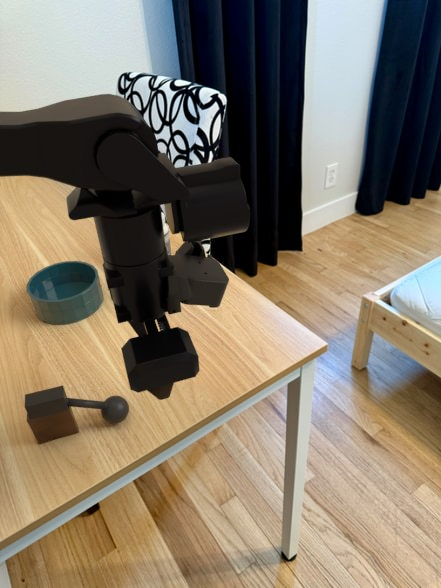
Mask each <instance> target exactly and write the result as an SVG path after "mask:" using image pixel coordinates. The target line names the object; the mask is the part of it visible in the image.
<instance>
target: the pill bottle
mask: <svg viewBox="0 0 441 588" xmlns="http://www.w3.org/2000/svg"><path fill="white" fill-rule="evenodd" d="M161 214H162V222H163V230H164V238H165V246H166V249H167V254H168V255H172V247H171V246H172V245H171V237H170V228H169V225H168V224H166V214H165V213H164V212H162V211H161Z"/></svg>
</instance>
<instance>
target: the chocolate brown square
mask: <svg viewBox="0 0 441 588" xmlns="http://www.w3.org/2000/svg"><path fill="white" fill-rule="evenodd" d="M72 408H73V407H70V406H68V411H65V412H61V413H57V414H53V415H49V416H45V417H41V418H37V419H34V420H30V418H29V416H28V414H27V413H26V422H27V424H28V426H29V428H30V430H31V432H32V434H33V436H34V438H35V440H36V442H37V444H38V445H41V444H44V443H48V442H51V441H55V440H59V439H62V438H65V437H69V436H71V435H76V434H78V433H80V432H79V431H80V430H79V424H78V421H77V419H76V417H75V414H74V411H73V409H72Z"/></svg>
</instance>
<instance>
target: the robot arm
mask: <svg viewBox="0 0 441 588" xmlns="http://www.w3.org/2000/svg"><path fill="white" fill-rule="evenodd" d="M2 177H6V178H7V177H33V178H34V177H35V178H42V179H47V180H52V181H53V182H57V183H60V184H64V185H67V186H69V187H74V188H73V190H71V192H70V193H69V194H68V195H67V196H66V198H65V199H66V207H67V215H68V218H69V220H71V221H79V220H85V219H91V218H93V222H94V226H95V230H96V234H97V239H98V243H99V248H100V252H101V256H102V260H103V263H102V268H103V273H104V277H105V281H106V286H107V290H108V291H109V295H110V299H111V301H112V302H113V307H114V311H115V316H116V321H117V324H122V323H123V324H124V323H126V322H127V323H128V324H129V326H130V327H131V328H132V330H133V331H134V333H135V334H136V335H137V336H135V337H130V338H129V339H128V340H127V341H126V342H125V343H124V344H123V345H122V347H121V348H120V349H121V354H122V358H123V363H124V366H125V371H126V376H127V380H128V385H129V389H130V391H132V392H135V393H138V394H139V393H142V392H148V393H150V394H151V395H152V396H154V397H155V398H156V399H157V400H159V401H162V400H165V399H168V398H170V397H171V394H172V390H173V387H174V384H175V383H178V382H182V381H186V380H189V379H193V378H196V377H197V375H198V374H199V372H200V361H199V360H200V358H199V355H198V352H197V350H196V347H195V345H194V343H193V342H194V341H192V338H191V336H190V333H189V331H188V330H185V329H183V328H182V327H179V326H175V327H171V325H170V323H169V319H168V316H167V314H168V315H176V314H179V313H182V305H181V304H183V305H187V306H205V307H209V308H210V309H211V308H212V309H215V308H219V307H220V306H221V304H222V300H223V298H224V295H225V293H226V290H227V287H228V285H229V282H230V278H229V276H228V274H227V273H226V271H225V270H224V267H223V266H222V265H221V263H220V262H219V261H218V260H217V259H215V258H214V257H213V255H212V254H209V253H208V254H207V255H206V251H205V247H204V245H203V244H202V242H201V241H205V240H210V239H216V238H220V237H221V238H222V237H226V236H231V235H236V234H240V233H246V231H248V229H249V226H250V222H251V207H250V205H249V204H248V198H247V193H246V188H245V186H244V183H243V180H242V178H241V165H240V164H239V163H237V162H236V160H235V159H234V158H232V157H231V156H229V157H221V158H218V159H215V160H213V161H209V162H204V163H197V164H192V165H185V166H179V167H176V166H175V165H174V164H173V162H172V161H171V159H170V157H169V156H168V155H167V153H166V152H161V150H160V149H159V146H158V140H157V138H156V135H155V134H154V132H153V130H152V128H151V127H150V125H149V123H148V122H147V121H146V119H145V118H144V117H143V115H142V114H141V113H140V111H139V110H138V109H137V108H136V107H135V106H134V105H133V103H131V102H130V101H129V100H127V98H124V97H122V96H121V95H117V94H112V93H102V94H95V95H89V96H83V97H77V98H70V99H64V100H61V101H58V102H54V103H51V104H48V105H45V106H41V107H38V108H34V109H33V108H32V109H27V110H23V111H0V178H2ZM162 205H163V206H164V212H165V213H164V214H165V219H166V221H167V226H168V228H169V232H170V233H171V234H172V235H177V234H180V236H181V239H182V242H183V243H182V244H181V245H180V246H179V247H178V249H177V250H175V251H174V254H171V255H168V254H167V249H166V246H165V238H164V230H163V222H162V214H161V212H162ZM166 313H167V314H166Z"/></svg>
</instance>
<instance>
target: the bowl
mask: <svg viewBox="0 0 441 588" xmlns="http://www.w3.org/2000/svg"><path fill="white" fill-rule="evenodd" d="M25 292H26V293H27V296H28V299H29V302H30V304H31V307H32V310H33V312H34V313H35V315H36V317H37V318H38V319H39V320H40V321H42V322H44V323H47V324H49V325H69V324H73V323H77V322H80V321H82V320H85V319H87V318H89V317H91V316H92V315H94V314H95V313H96V312H97V311H98V310H99V309H100V308H101V306H102V305H103V302H104V290H103V287H102V283H101V279H100V274H99V271H98V269H97V268H96V267H95V266H94V265H93V264H92V263H89V262H86V261H82V260H81V261H80V260H66V261H60V262H56V263H53V264H50V265H47V266H45V267H43V268H42V269H40V270H37V271H36V272H35V273H34V274H33V275H32V276H31V277H30V278H29V279H28V281H27V283H26V289H25Z"/></svg>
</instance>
